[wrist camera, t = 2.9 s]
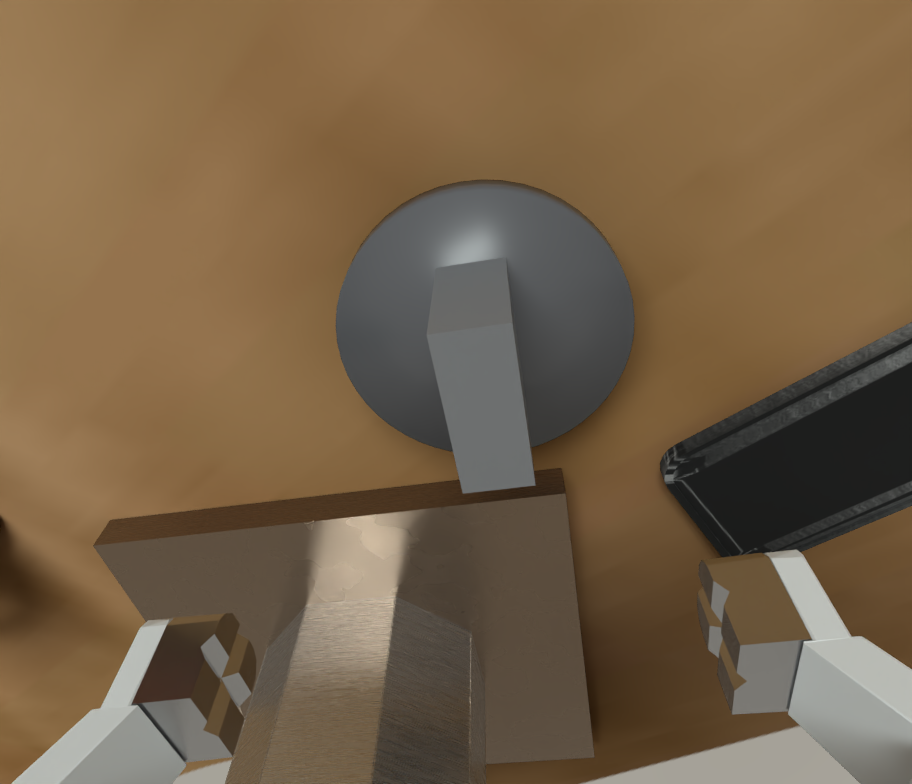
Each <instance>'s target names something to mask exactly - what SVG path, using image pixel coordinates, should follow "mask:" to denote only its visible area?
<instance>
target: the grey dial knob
mask: <svg viewBox="0 0 912 784" xmlns="http://www.w3.org/2000/svg"><path fill="white" fill-rule="evenodd" d="M336 333H337V343H338V347H339V351H340V356H341V360H342V362H343V365H344V367H345V370H346V372H347V375H348V377H349V378H350V380H351V382H352V384H353V385H354V387H355V389H356V390H357V392H358V393H359V394H360V396H361V397H362V398H363V400H364V401H365V402H366V404H367V405H368V406H369V407H370V408H371V409H372V410H373V411H374V412H375V413H376V414H377V415H378V416H380V417H381V418H382V419H383V420H384V421H386V422H387V423H388V424H389V425H391V426H392V427H394V428H395V429H397V430H399V431H400V432H402V433H403V434H405V435H407V436H409V437H411V438H413V439H415V440H417V441H419V442H422V443H425V444H427V445H430V446H433V447H436V448H440V449H444V450H448V451H452V452H453V453H454V457H455V462H456V466H457V471H458V475H459V479H460V484H461V488H462V492H463V494H464V493H473V492H482V491H491V490H500V489H509V488H518V487H527V486H536V485H535V476H534V468H533V459H532V450H531V447H535V446H538V445H540V444H543V443H545V442H548V441H550V440H553V439H555V438H557V437H559V436H560V435H562V434H564V433H566V432H568V431H570V430H571V429H572V428H574V427H575V426H577V425H578V424H580V423H581V422H583V421H584V420H585V419H586V418H587V417H588V416H590V415H591V414H592V413H593V412H594V411H595V410H596V409H597V408H598V407H599V406H600V405H601V404H602V403H603V401H604V400H605V399H606V398H607V397H608V395H609V394H610V393H611V391H612V390H613V388H614V387H615V385H616V384H617V382H618V380H619V378H620V376H621V374H622V372H623V370H624V368H625V366H626V363H627V360H628V357H629V354H630V351H631V346H632V341H633V336H634V309H633V300H632V296H631V292H630V288H629V284H628V281H627V279H626V277H625V274H624V272H623V270H622V267H621V265H620V263H619V261H618V259H617V257H616V255H615V253H614V251H613V250H612V248H611V246H610V245H609V243H608V242H607V240H606V238H605V237H604V236H603V234H602V233H601V232H600V231H599V230H598V228H597V227H596V226H595V225H594V224H593V223H592V222H591V221H590V220H589V219H588V218H587V217H586V216H584V215H583V214H582V213H581V212H580V211H579V210H578V209H576V208H575V207H573V206H572V205H570V204H568V203H567V202H565V201H564V200H562V199H561V198H559V197H556V196H554V195H552V194H550V193H548V192H546V191H544V190H541V189H538V188H535V187H531V186H528V185H525V184H521V183H515V182H509V181H503V180H472V181H463V182H457V183H452V184H448V185H444V186H440V187H437V188H434V189H432V190H429V191H427V192H424V193H422V194H419V195H417V196H416V197H414V198H412V199H410V200H408V201H407V202H405V203H403V204H401V205H400V206H399V207H397V208H396V209H395V210H393V211H392V212H391V213H389V214H388V215H387V216H386V217H385V218H384V219H383V220H382V221H381V222H380V223H379V224H378V225H377V226H376V227H375V228H374V229H373V230H372V231H371V232H370V233H369V235H368V236H367V237H366V239H365V240H364V241H363V243H362V244H361V246H360V248H359V249H358V251H357V253H356V255H355V257H354V259H353V260H352V263H351V265H350V267H349V270H348V272H347V274H346V277H345V280H344V282H343V285H342V288H341V291H340V295H339V300H338V305H337V314H336Z"/></svg>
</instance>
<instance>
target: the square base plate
mask: <svg viewBox="0 0 912 784" xmlns="http://www.w3.org/2000/svg"><path fill="white" fill-rule="evenodd" d="M534 476H535V485H536V486H527V487H518V488H509V489H500V490H491V491H482V492H473V493H464V494H463V492H462V488H461V484H460V480H455V481H446V482H438V483H429V484H420V485H412V486H403V487H394V488H386V489H377V490H368V491H360V492H351V493H342V494H334V495H325V496H316V497H308V498H299V499H290V500H282V501H273V502H264V503H256V504H247V505H238V506H230V507H221V508H212V509H204V510H195V511H186V512H178V513H169V514H161V515H152V516H143V517H135V518H126V519H117V520H110V521H109V523H108V524H107V526H106V527H105V529H104V530H103V532H102V533H101V535H100V536H99V538H98V539H97V541H96V542H95V544H94V545H93V546H94V548H95V549H96V551H97V552H98V553H99V555H100V556H101V558H102V559H103V561H104V562H105V564H106V565H107V566H108V568H109V569H110V571H111V572H112V574H113V575H114V576H115V578H116V579H117V581H118V582H119V584H120V585H121V586H122V588H123V589H124V591H125V592H126V594H127V595H128V596H129V598H130V599H131V601H132V602H133V604H134V605H135V606H136V608H137V609H138V611H139V612H140V614H141V615H142V616H143V618H144V619H145V621H146V622H147V621H148V620H156V619H166V618H176V617H188V616H201V615H213V614H225V613H233V615H234V616H235V618H236V619H237V621H238V622H239V624H240V626H239V629H238V632H237V633H238V634H240V635H241V636H243V637H245V638H247V639H249V641H250V642H251V644H252V646H253V648H254V652H255V656H256V660H257V661H256V679H255V682H254V686H253V690H252V693H251V695H250V696H249V697H248V698H247V699H246V700H245V701H244V702H243V703H242V704H241V706H240V709H241V711H242V714H243V716H244V721H243V725H242V728H241V731H240V735H239V738H238V742H237V745H236V748H235V753H234V756H233V759H232V762H231V766H230V769H229V772H228V775H227V778H226V781H225V784H486V764H496V763H512V762H529V761H545V760H562V759H578V758H595V757H594V748H593V739H592V730H591V721H590V712H589V702H588V693H587V684H586V675H585V666H584V657H583V648H582V638H581V629H580V620H579V611H578V602H577V593H576V584H575V575H574V565H573V556H572V547H571V538H570V529H569V520H568V511H567V501H566V493H565V487H564V481H563V475H562V469H561V468H559V469H550V470H542V471H534Z"/></svg>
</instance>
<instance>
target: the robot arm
mask: <svg viewBox="0 0 912 784" xmlns="http://www.w3.org/2000/svg"><path fill="white" fill-rule="evenodd" d="M699 578H700V580H701V583H702V586H703V588H702V589H701V590H700V591H699V592H698V593H697V608H698V615H699V622H700V626H701V629H702V633H703V636H704V639H705V642H706V645H707V648H708V650H709V651H710V652H712V653H713V654H714V655H715V656H717V657H718V658H719V660H718V673H717V675H718V678H719V681H720V683H721V686H722V689H723V692H724V694H725V697H726V700H727V702H728V705H729V708H730V710H731V713H732V714H748V713H766V712H783V711H789V712H788V715H790V716H791V717H792V718H793V719H794V720H795V721H796V722H797V723H798V724H799V725H800V726H801V727H802V728H803V729H804V730H805V731H806V732H807V733H808V734H809V735H810V736H811V737H813V738H814V739H815V740H816V741H817V742H818V743H819V744H820V745H821V746H822V747H823V748H824V749H825V750H826V751H827V752H829V754H830V755H831V756H832V757H833V758H835V760H837V761H838V762H839V763H840V764H841V765H842V766H843V767H844V768H845V769H846V770H847V771H848V772H849V773H850V774H851V775H852V776H853V777H854V778H855V779H856V780H857V781H858V782H859V783H861V784H912V669H910V668H909V667H907V666H906V665H904V664H903V663H901V662H900V661H898V660H897V659H895V658H894V657H892V656H891V655H889V654H888V653H886V652H885V651H883V650H882V649H880V648H879V647H877V646H876V645H875V644H873V643H872V642H870V641H869V640H867V639H866V638H864V637H863V636H853V637H852V636H851V635H850V633H849V631H848V630H847V628H846V626H845V625H844V623H843V621H842V620H841V618H840V616H839V615H838V613H837V611H836V609H835V608H834V606H833V604H832V603H831V601H830V599H829V598H828V596H827V594H826V593H825V591H824V589H823V588H822V586H821V584H820V582H819V581H818V579H817V577H816V576H815V574H814V572H813V571H812V569H811V567H810V566H809V564H808V562H807V561H806V559H805V557H804V556H803V554H802V553H800V552H799V551H798V550H787V551H778V552H769V553H764V554H763V553H754V554H746V555H738V556H730V557H722V558H714V559H706V560H701V562H700V564H699ZM239 626H240V624H239V622H238V621H237V619H236V618H235V616H234V615H233V613H225V614H213V615H201V616H188V617H176V618H166V619H156V620H148V621H147V622H146V623H145V624H144V625H143V626H142V627H141V628H140V629H139V631H138V633H137V635H136V637H135V639H134V641H133V643H132V645H131V647H130V649H129V651H128V653H127V655H126V657H125V659H124V661H123V663H122V665H121V667H120V669H119V671H118V674H117V676H116V678H115V680H114V682H113V684H112V686H111V688H110V690H109V692H108V694H107V696H106V698H105V700H104V702H103V704H102V706H101V708H99V709H92V710H91V711H90V712H89V713H88V714H87V715H86V716H85V717H84V718H82V719H81V720H80V721H79V722H78V723H77V724H76V725H75V726H74V727H73V728H72V729H70V730H69V731H68V732H67V733H66V734H65V735H64V736H63V737H62V738H61V739H60V740H58V741H57V742H56V743H55V744H54V745H53V746H52V747H51V748H50V749H49V750H48V751H46V752H45V753H44V754H43V755H42V756H41V757H40V758H39V759H38V760H37V761H36V762H34V763H33V764H32V765H31V766H30V767H29V768H28V769H27V770H26V771H25V772H24V773H22V774H21V775H20V776H19V777H18V778H17V779H16V780H15V781H14V782H13V783H12V784H172V783H173V782H174V781H175V780H176V778H177V777H178V776H179V775H180V773H181V772H182V771H183V769H184V768H185V767H186V763H185V762H193V761H202V760H210V759H219V758H228V757H233V755H234V752H235V748H236V745H237V742H238V738H239V735H240V731H241V728H242V725H243V721H244V716H243V714H242V711H241V709H240V706H241V704H242V703H243V702H244V701H245V700H246V699H247V698H248V697H249V696H250V695H251V693H252V690H253V686H254V682H255V679H256V661H257V660H256V656H255V652H254V648H253V646H252V644H251V642H250V641H249V639H247V638H245V637H243V636H241V635H240V634H238V633H237V632H238V629H239Z"/></svg>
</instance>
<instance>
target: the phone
mask: <svg viewBox="0 0 912 784" xmlns="http://www.w3.org/2000/svg"><path fill="white" fill-rule="evenodd" d="M660 470H661V473H662V476H663V478H664V481H665V483H666V485H667V487H668V489H669V490H670V491H671V493H672V494H673V495H674V496H675V498H676V499H677V500H678V502H679V503H680V504H681V505H682V507H683V508H684V509H685V510H686V512H687V513H688V514H689V516H690V517H691V518H692V519H693V521H694V522H695V523H696V524H697V526H698V527H699V528H700V529H701V531H702V532H703V533H704V535H705V536H706V537H707V538H708V540H709V541H710V542H711V543H712V545H713V546H714V547H715V548H716V550H717V551H718V552H719V554H720V555H721V556H722V557H730V556H738V555H746V554H754V553H763V554H764V553H769V552H778V551H787V550H798V551H799V552H802V551H804V550H807V549H809V548H812V547H814V546H816V545H819V544H821V543H824V542H826V541H828V540H831V539H833V538H835V537H838V536H840V535H843V534H845V533H847V532H850V531H852V530H855V529H857V528H859V527H862V526H864V525H867V524H869V523H871V522H874V521H876V520H879V519H881V518H883V517H886V516H888V515H891V514H893V513H895V512H898V511H900V510H903V509H905V508H907V507H910V506H912V322H911V323H909V324H907V325H905V326H904V327H902V328H900V329H898V330H896V331H894V332H892V333H890V334H888V335H886V336H884V337H882V338H880V339H878V340H877V341H875V342H873V343H871V344H869V345H867V346H865V347H863V348H861V349H859V350H857V351H855V352H853V353H851V354H850V355H848V356H846V357H844V358H842V359H840V360H838V361H836V362H834V363H832V364H830V365H828V366H826V367H824V368H822V369H821V370H819V371H817V372H815V373H813V374H811V375H809V376H807V377H805V378H803V379H801V380H799V381H797V382H795V383H794V384H792V385H790V386H788V387H786V388H784V389H782V390H780V391H778V392H776V393H774V394H772V395H770V396H768V397H767V398H765V399H763V400H761V401H759V402H757V403H755V404H753V405H751V406H749V407H747V408H745V409H743V410H741V411H740V412H738V413H736V414H734V415H732V416H730V417H728V418H726V419H724V420H722V421H720V422H718V423H716V424H714V425H712V426H711V427H709V428H707V429H705V430H703V431H701V432H699V433H697V434H695V435H693V436H691V437H689V438H687V439H685V440H684V441H682V442H680V443H678V444H676V445H674V446H673V447H671V448H670V449H669V450H668V451H667V452H666V453H665V454H664V455H663V457H662V460H661V462H660Z"/></svg>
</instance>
